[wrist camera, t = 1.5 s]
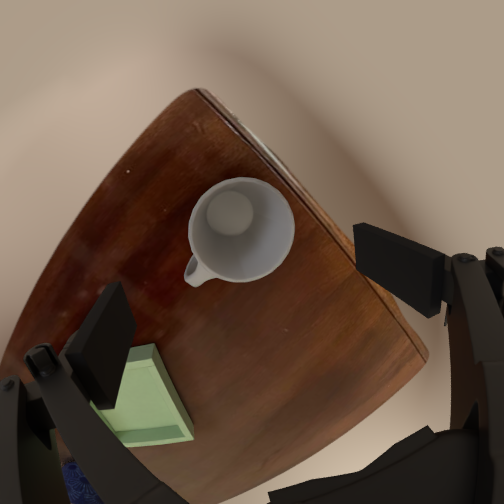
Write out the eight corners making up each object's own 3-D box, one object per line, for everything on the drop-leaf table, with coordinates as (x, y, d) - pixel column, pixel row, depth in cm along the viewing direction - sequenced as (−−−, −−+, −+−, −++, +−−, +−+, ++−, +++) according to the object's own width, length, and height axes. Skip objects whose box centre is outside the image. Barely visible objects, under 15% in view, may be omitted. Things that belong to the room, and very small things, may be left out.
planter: (133, 480, 38) (131, 526, 28) (99, 491, 39) (95, 530, 28) (79, 449, 34) (68, 498, 24) (51, 462, 34) (40, 503, 24)
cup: (282, 208, 29) (315, 225, 21) (217, 282, 30) (227, 324, 22) (226, 157, 27) (239, 154, 19) (159, 237, 28) (145, 265, 20)
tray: (63, 358, 29) (56, 372, 26) (154, 342, 31) (152, 358, 28) (113, 433, 34) (110, 447, 31) (193, 424, 36) (194, 439, 33)
